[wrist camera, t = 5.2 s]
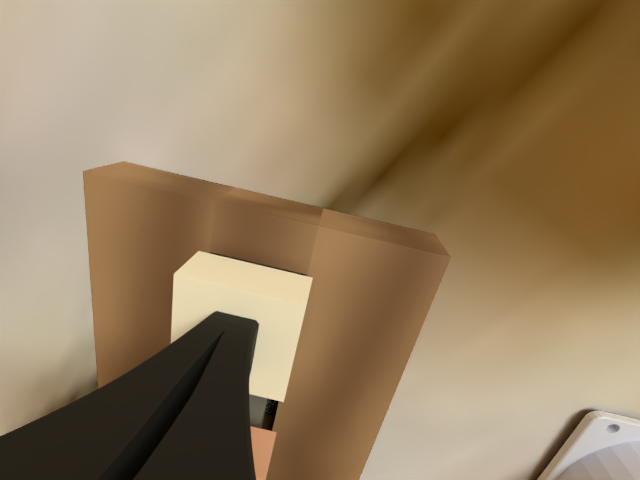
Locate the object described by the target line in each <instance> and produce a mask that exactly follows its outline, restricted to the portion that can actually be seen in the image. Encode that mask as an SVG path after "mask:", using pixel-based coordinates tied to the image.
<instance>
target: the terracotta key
mask: <svg viewBox="0 0 640 480" xmlns="http://www.w3.org/2000/svg"><path fill="white" fill-rule="evenodd" d="M267 400H268V398H264V397H260V396H255V395H251V394H249V409H250V427H251V440H252V450H253V459H254V468H255V474H256V480H266V476H267V472H268V468H269V463H270V459H271V455H272V450H273V446H274V442H275V437H276V433H277V432H273V431H269V430H265V429H262V424H263V419H264V414H265V410H266V405H267Z"/></svg>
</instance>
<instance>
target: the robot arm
mask: <svg viewBox="0 0 640 480" xmlns="http://www.w3.org/2000/svg"><path fill="white" fill-rule="evenodd" d="M258 328H259V323H258V322H257V321H256V320H253V319H249V318H245V317H240V316H236V315H232V314H228V313H223V312H219V311H215V312H213V313H212V314H210V315H209V316H208V317H206V318H205V319H204V320H202V321H201V322H200V323H199V324H197V325H196V326H195V327H193V328H192V329H190V330H189V331H188V332H186V333H185V334H184V335H182V336H181V337H180V338H178V339H177V340H175V341H174V342H172V343H171V344H169V345H168V346H167V347H165V348H164V349H162V350H161V351H159V352H158V353H156V354H155V355H153V356H152V357H150V358H149V359H147V360H146V361H144V362H142V363H141V364H139V365H138V366H136V367H134V368H133V369H131V370H130V371H128V372H126V373H125V374H123V375H122V376H120V377H118V378H116V379H115V380H113V381H111V382H110V383H108V384H106V385H104V386H102V387H101V388H99V389H97V390H95V391H93V392H92V393H90V394H88V395H86V396H84V397H82V398H80V399H78V400H77V401H75V402H73V403H71V404H69V405H67V406H65V407H62V408H60V409H58V410H56V411H54V412H52V413H50V414H48V415H46V416H44V417H42V418H40V419H37V420H35V421H33V422H31V423H29V424H27V425H25V426H23V427H20V428H18V429H16V430H14V431H12V432H9V433H7V434H5V435H2V436H0V480H256V474H255V468H254V459H253V450H252V440H251V427H250V409H249V376H250V373H251V369H252V363H253V358H254V352H255V346H256V340H257V334H258ZM537 480H640V420H638V419H634V418H630V417H626V416H621V415H617V414H613V413H609V412H604V411H597V410H596V411H591V412H589V413H588V414H586V415H585V417H584V418H583V419H582V421H581V422H580V423H579V425H578V426H577V427H576V429H575V430H574V431H573V433H572V434H571V435H570V437H569V438H568V439H567V441H566V442H565V443H564V445H563V446H562V447H561V449H560V450H559V451H558V453H557V454H556V455H555V457H554V458H553V459H552V461H551V462H550V463H549V465H548V466H547V467H546V469H545V470H544V471H543V473H542V474H541V475H540V477H539V478H538V479H537Z"/></svg>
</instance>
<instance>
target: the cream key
mask: <svg viewBox="0 0 640 480" xmlns="http://www.w3.org/2000/svg"><path fill="white" fill-rule="evenodd" d="M312 279H313V278H312V277H308V276H304V275H299V274H296V272H293V271H289V270H284V269H280V268H276V267H272V266H267V265H263V264H259V263H254V262H250V261H246V260H242V259H237V258H233V257H231V258H227V257H223V256H218V255H214V254H210V253H206V252H201V251H198V252H197V253H196V254H195V255H194V256H193V257H191V258H190V259H189V260H188V261H187V262H186V263H185V264H184V265H183V266H182V267H181V268H180V269H179V270H178V271H176V272H175V273H174V278H173V301H172V324H171V343H172V342H174V341H175V340H177V339H178V338H180V337H181V336H182V335H184V334H185V333H186V332H188V331H189V330H190V329H192V328H193V327H195V326H196V325H197V324H199V323H200V322H201V321H202V320H204V319H205V318H206V317H208V316H209V315H210V314H212V313H213V312H215V311H219V312H223V313H228V314H232V315H236V316H240V317H245V318H249V319H253V320H256V321H257V322H258V323H259V328H258V334H257V340H256V346H255V352H254V358H253V363H252V369H251V373H250V376H249V394H251V395H255V396H260V397H264V398H268V399H272V400H277V401H281V402H284V399H285V395H286V391H287V386H288V382H289V378H290V374H291V369H292V365H293V361H294V357H295V352H296V348H297V344H298V340H299V335H300V331H301V327H302V323H303V318H304V314H305V310H306V305H307V301H308V297H309V292H310V288H311V284H312Z"/></svg>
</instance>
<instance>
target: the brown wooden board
mask: <svg viewBox="0 0 640 480" xmlns="http://www.w3.org/2000/svg"><path fill="white" fill-rule="evenodd" d="M83 180H84V194H85V208H86V222H87V237H88V251H89V265H90V279H91V293H92V307H93V321H94V335H95V350H96V364H97V378H98V389H99V388H101V387H102V386H104V385H106V384H108V383H110V382H111V381H113V380H115V379H116V378H118V377H120V376H122V375H123V374H125V373H126V372H128V371H130V370H131V369H133V368H134V367H136V366H138V365H139V364H141V363H142V362H144V361H146V360H147V359H149V358H150V357H152V356H153V355H155V354H156V353H158V352H159V351H161V350H162V349H164V348H165V347H167V346H168V345H169V344H171V324H172V301H173V278H174V273H175V272H176V271H178V270H179V269H180V268H181V267H182V266H183V265H184V264H185V263H186V262H187V261H188V260H189V259H190V258H191V257H193V256H194V255H195V254H196V253H197V252H198V251H201V252H206V253H210V254H214V255H218V256H223V257H227V256H229V257H233V258H237V259H242V260H246V261H250V262H254V263H259V264H263V265H267V266H272V267H276V268H280V269H284V270H289V271H293V272H297V273H301V274H306V275H307V276H308V277H312V278H313V279H312V284H311V288H310V292H309V297H308V301H307V305H306V310H305V314H304V318H303V323H302V327H301V331H300V335H299V340H298V344H297V348H296V352H295V357H294V361H293V365H292V369H291V374H290V378H289V382H288V386H287V391H286V395H285V399H284V402H281V401H279V403H278V407H277V412H276V416H274V415H270V414H266V413H265V414H264V419H263V424H262V429H265V430H269V431H273V432H277V433H276V437H275V442H274V446H273V450H272V455H271V459H270V463H269V468H268V472H267V476H266V480H359V478H360V476H361V473H362V471H363V469H364V466H365V464H366V461H367V459H368V456H369V454H370V452H371V449H372V447H373V444H374V442H375V439H376V437H377V435H378V432H379V430H380V427H381V425H382V422H383V420H384V418H385V415H386V413H387V410H388V408H389V405H390V403H391V401H392V398H393V396H394V393H395V391H396V388H397V386H398V384H399V381H400V379H401V376H402V374H403V371H404V369H405V367H406V364H407V362H408V359H409V357H410V354H411V352H412V350H413V347H414V345H415V342H416V340H417V337H418V335H419V333H420V330H421V328H422V325H423V323H424V320H425V318H426V316H427V313H428V311H429V308H430V306H431V303H432V301H433V299H434V296H435V294H436V291H437V289H438V286H439V284H440V282H441V279H442V277H443V274H444V272H445V269H446V267H447V265H448V262H449V260H450V255H449V254H448V252H447V251H446V249H445V248H444V246H443V245H442V243H441V242H440V240H439V239H438V237H437V236H436V235H435V234H431V233H427V232H423V231H418V230H414V229H410V228H405V227H401V226H397V225H393V224H388V223H384V222H380V221H375V220H371V219H367V218H363V217H358V216H354V215H350V214H345V213H341V212H337V211H333V210H328V209H324V208H320V207H316V206H311V205H307V204H303V203H298V202H294V201H290V200H286V199H281V198H277V197H273V196H268V195H264V194H260V193H256V192H251V191H247V190H243V189H238V188H234V187H230V186H226V185H221V184H217V183H213V182H208V181H204V180H200V179H196V178H191V177H187V176H183V175H178V174H174V173H170V172H166V171H161V170H157V169H153V168H149V167H144V166H140V165H136V164H131V163H127V162H120V163H116V164H111V165H107V166H103V167H98V168H94V169H90V170H86V171H83Z"/></svg>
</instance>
